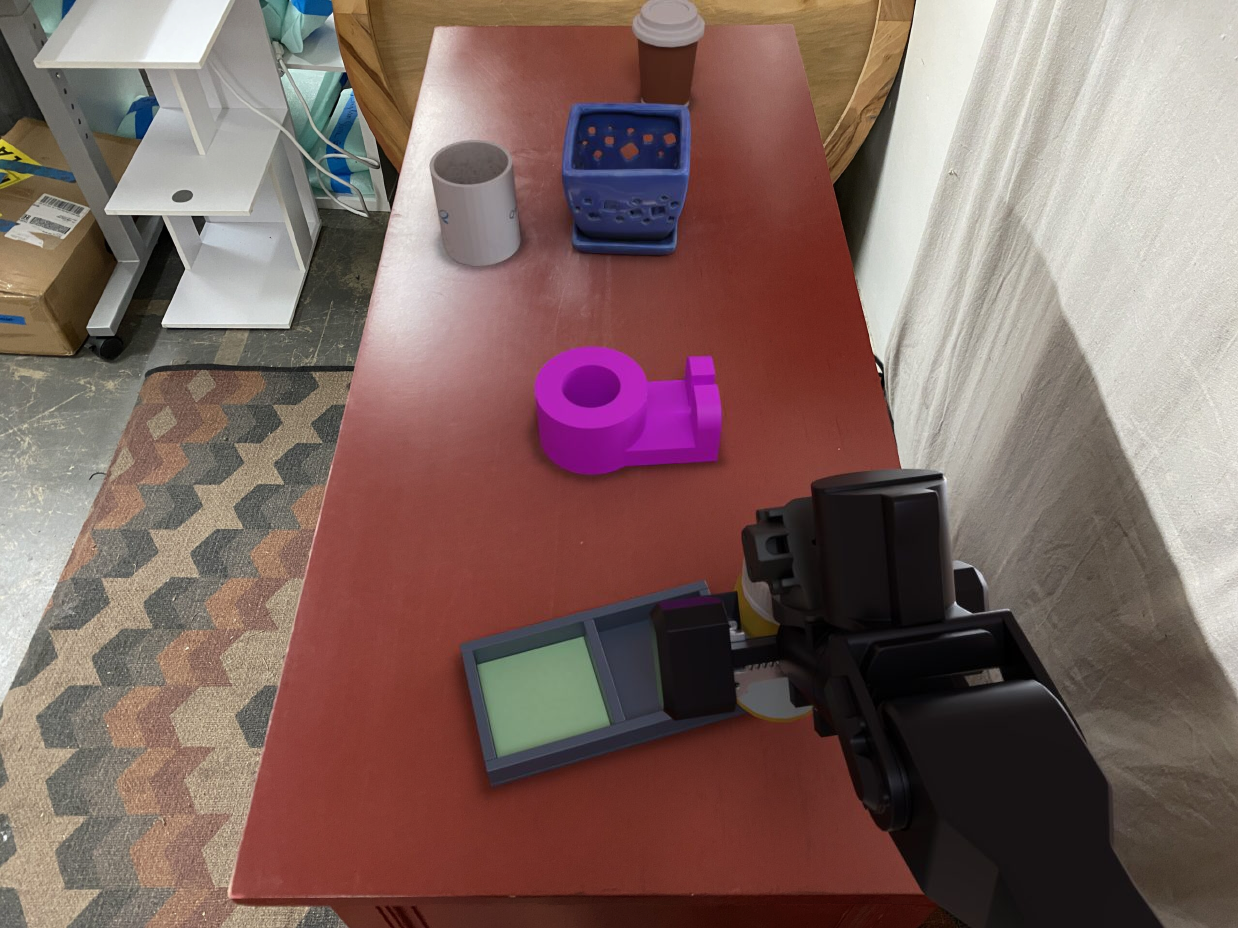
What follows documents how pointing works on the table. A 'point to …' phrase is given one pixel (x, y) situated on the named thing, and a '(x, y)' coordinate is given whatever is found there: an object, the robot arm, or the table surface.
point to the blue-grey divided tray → (571, 688)
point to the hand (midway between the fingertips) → (778, 602)
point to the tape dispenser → (624, 412)
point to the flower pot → (626, 176)
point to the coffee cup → (667, 49)
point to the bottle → (766, 695)
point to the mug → (476, 201)
